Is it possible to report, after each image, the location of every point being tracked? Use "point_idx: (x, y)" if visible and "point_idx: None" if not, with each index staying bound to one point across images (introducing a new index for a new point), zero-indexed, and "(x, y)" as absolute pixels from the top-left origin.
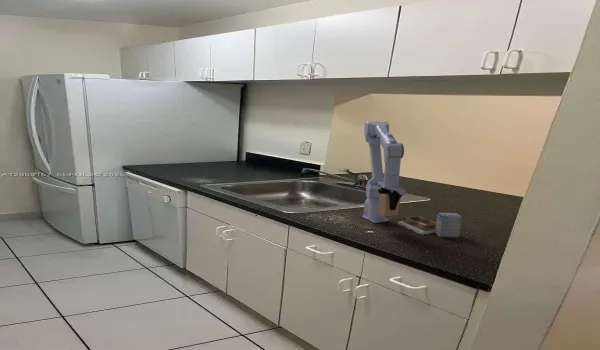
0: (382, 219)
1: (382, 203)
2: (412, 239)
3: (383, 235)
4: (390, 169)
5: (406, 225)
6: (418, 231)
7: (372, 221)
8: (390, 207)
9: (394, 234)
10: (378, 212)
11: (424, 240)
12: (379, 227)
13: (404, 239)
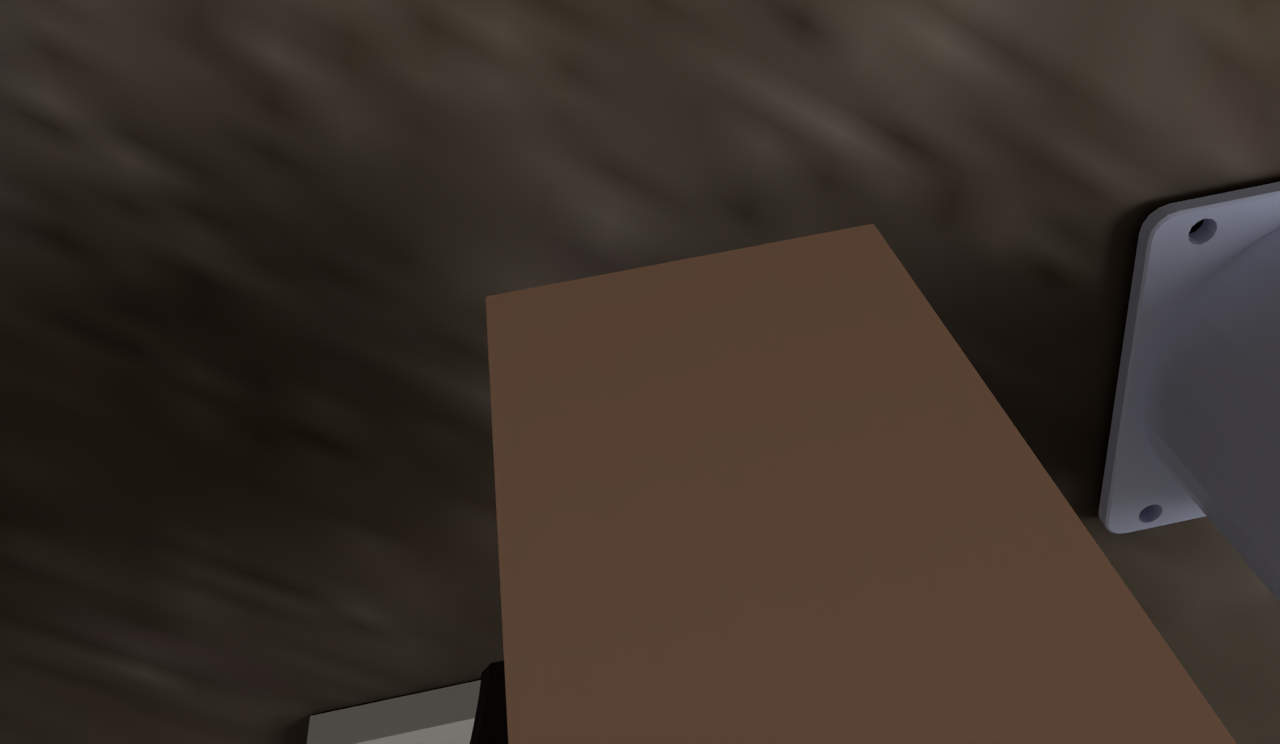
0: (1159, 420)
1: (767, 617)
2: (70, 499)
3: (341, 10)
4: None
5: None
6: (402, 722)
7: (1235, 193)
8: (503, 737)
9: (386, 298)
10: (858, 253)
11: (28, 653)
12: (880, 185)
13: (59, 360)
